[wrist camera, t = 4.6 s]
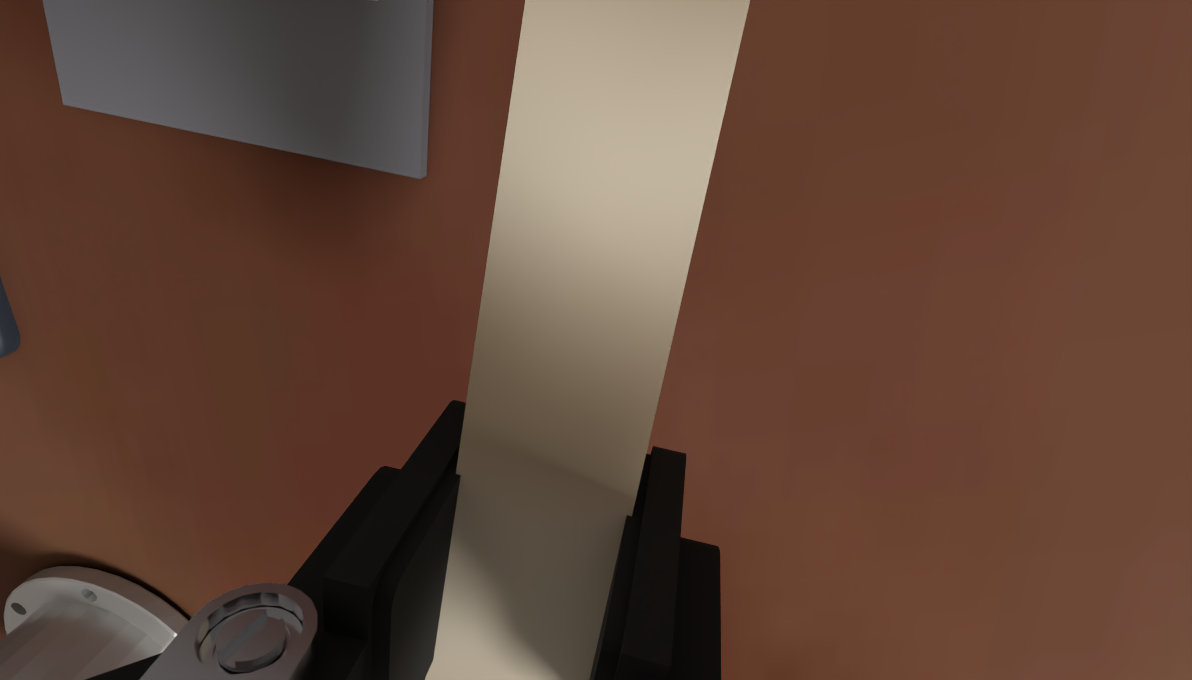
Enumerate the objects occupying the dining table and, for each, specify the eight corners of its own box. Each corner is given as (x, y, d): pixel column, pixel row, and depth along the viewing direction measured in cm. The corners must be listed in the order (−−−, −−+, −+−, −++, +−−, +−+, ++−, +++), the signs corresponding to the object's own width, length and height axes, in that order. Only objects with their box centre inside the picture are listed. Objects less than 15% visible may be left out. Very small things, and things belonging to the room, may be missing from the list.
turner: (650, 696, 13) (630, 990, 9) (416, 635, 14) (270, 882, 9) (868, -145, 9) (1056, -478, 5) (532, -197, 10) (384, -554, 5)
